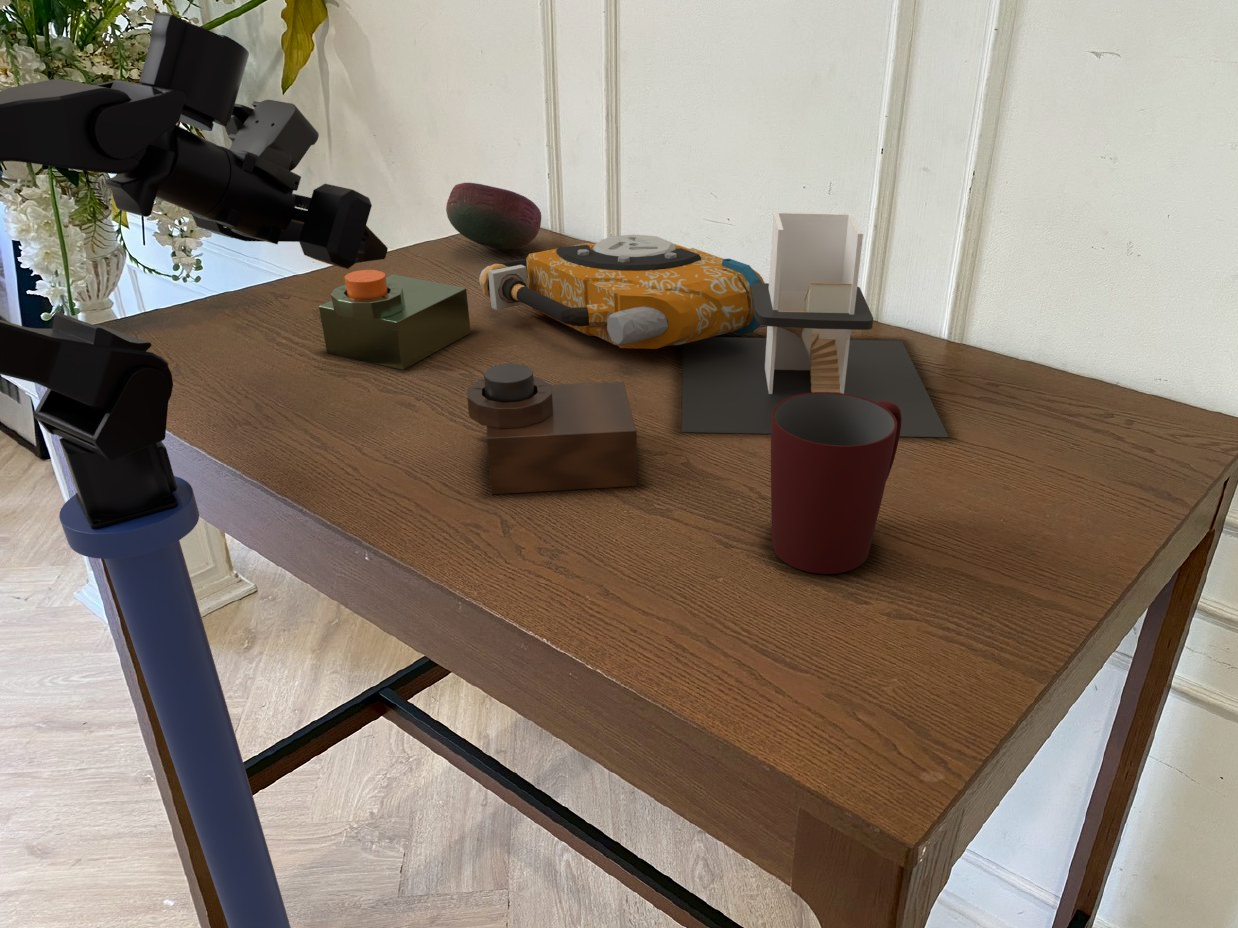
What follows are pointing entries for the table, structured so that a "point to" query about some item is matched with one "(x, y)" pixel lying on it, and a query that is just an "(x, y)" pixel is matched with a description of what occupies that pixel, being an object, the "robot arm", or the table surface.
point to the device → (630, 290)
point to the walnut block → (558, 437)
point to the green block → (395, 322)
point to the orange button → (366, 284)
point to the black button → (509, 383)
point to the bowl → (493, 215)
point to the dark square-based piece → (803, 340)
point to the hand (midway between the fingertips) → (350, 244)
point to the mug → (829, 477)
